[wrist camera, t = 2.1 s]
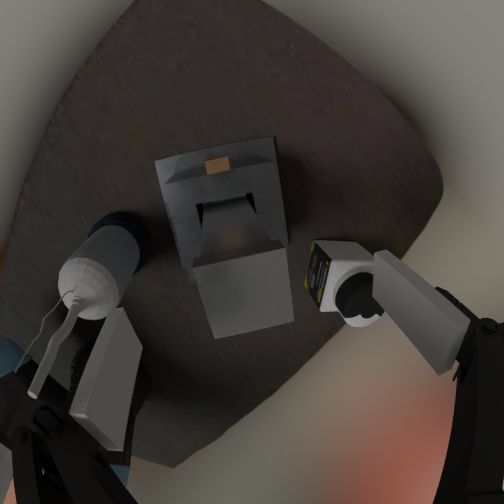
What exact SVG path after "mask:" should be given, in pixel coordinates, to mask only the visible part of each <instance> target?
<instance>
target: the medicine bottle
mask: <svg viewBox="0 0 504 504" xmlns="http://www.w3.org/2000/svg"><path fill="white" fill-rule="evenodd" d="M373 276H374V256H373V255H371V254H370V253H369V252H368V251H367V250H365V249H364V248H363V247H362V246H360V245H359V244H358V243H357V242H346V241H326V240H313V242H312V246H311V252H310V258H309V263H308V268H307V273H306V279H305V287H306V288H307V290H308V292H309V293H310V295H311V297H312V298H313V300H314V301H315V303H316V305H317V306H318V308H319V310H320V311H321V312H330V311H339V313H340V314H341V315H342V317H343V318H344V320H345V321H346V323H347V324H349V325H350V326H353V327H364V326H368V325H370V324H372V323H373V322H375V321H376V320H378V318H380V316H382V314H383V313H384V311H385V310H384V309H383V308H382V307H381V305H380V304H379V303H378V302H377V301H376V300H375V299H374V298H373V296H372V293H373Z"/></svg>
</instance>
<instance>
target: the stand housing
mask: <svg viewBox="0 0 504 504" xmlns="http://www.w3.org/2000/svg"><path fill="white" fill-rule="evenodd" d="M154 162H155V166H156V170H157V175H158V179H159V183H160V187H161V191H162V195H163V199H164V203H165V207H166V210H167V214H168V218H169V222H170V225H171V229H172V232H173V236H174V239H175V243H176V246H177V250H178V253H179V257H180V260H181V263H182V266H183V268H186V269H187V273H188V276H189V279H190V282H191V283H194V282H196V279H195V276H194V272H193V269H192V266H193V258H195V257H200V256H201V239H202V223H203V209H204V208H203V202H207V201H212V200H216V199H221V198H226V197H230V196H235V195H240V194H245V193H246V198H247V200H248V202H249V203H250V205H251V207H252V208H253V210H254V212H255V213H256V215H257V217H258V218H259V220H260V222H261V223H262V225H263V227H264V228H265V230H266V232H267V233H268V235H269V237H270V238H271V240H272V241H273V240H278V239H280V241H281V242H282V244H283V245H284V247H285V250H286V257H287V262H289V258H288V250H287V245H289V242H288V235H287V227H286V220H285V212H284V205H283V198H282V191H281V184H280V178H279V171H278V165H277V158H276V152H275V146H274V140H273V136H270V137H264V138H258V139H252V140H246V141H240V142H235V143H229V144H224V145H219V146H214V147H210V148H205V149H201V150H196V151H192V152H188V153H183V154H179V155H175V156H171V157H167V158H164V159H160V160H156V161H154Z"/></svg>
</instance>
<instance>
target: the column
mask: <svg viewBox="0 0 504 504" xmlns="http://www.w3.org/2000/svg"><path fill="white" fill-rule="evenodd" d="M203 208H204V209H203V223H202V239H201V256H200V257H195V258H193V266H192V269H193V272H194V276H195V279H196V282H197V286H198V289H199V292H200V295H201V299H202V302H203V305H204V308H205V311H206V314H207V317H208V320H209V323H210V326H211V329H212V332H213V335H214V338H215V339H217V338H222V337H227V336H232V335H237V334H241V333H246V332H250V331H255V330H259V329H264V328H268V327H272V326H276V325H280V324H284V323H288V322H292V321H294V316H293V307H292V298H291V290H290V281H289V273H288V265H287V257H286V250H285V247H284V245H283V244H282V242H281V241H280V239H278V240H273V241H272V240H271V238H270V237H269V235H268V233H267V232H266V230H265V228H264V227H263V225H262V223H261V222H260V220H259V218H258V217H257V215H256V213H255V212H254V210H253V208H252V207H251V205H250V203H249V202H248V200H247V198H246V193H245V194H240V195H235V196H230V197H226V198H221V199H216V200H212V201H207V202H203Z"/></svg>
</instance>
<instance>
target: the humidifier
mask: <svg viewBox="0 0 504 504" xmlns="http://www.w3.org/2000/svg"><path fill="white" fill-rule="evenodd" d="M149 250H150V238H149V234H148V231H147V229H146V228H145V226H144V225H143V223H142V222H141V221H140V220H139V219H137V218H136V217H135V216H133V215H131V214H128V213H126V212H114V213H111V214H107V215H106V216H105V217H103V218H102V219H101V220H100V221H98V222H97V223H96V224H95V225H94V227H93V228H92V230H91V231H90V233H89V235H88V239H87V240H86V241H85V242H84V243H83V244H82V245H81V246H80V247H79V248H78V249H77V250H76V251H75V252H74V253H73V254H72V255H71V256H70V257H69V258H68V259H67V260H66V262H65V264H64V265H63V267H62V269H61V271H60V273H59V281H58V287H59V292H60V295H61V299H60V300H59V302H58V303H57V304H56V306H55V307H54V308H53V309H52V311H50V312H49V313H48V314H47V315H46V316H45V317H44V319H43V323H42V327H41V331H40V333H39V334H38V336H37V337H36V338H35V339H34V340H33V341H32V343H31V344H30V346H29V348H28V349H27V351H26V353H25V354H24V356H23V358H22V359H21V361H20V363H19V364H18V366H17V368H16V369H15V372H16V371H17V369H18V367H19V366H20V364H21V362H22V360H23V359H24V357H25V355H26V354H27V352H28V350H29V349H30V347H31V346H32V344H33V342H34V341H35V340H36V339H37V338H38V337H39V335H40V334H41V332H42V328H43V324H44V320H45V318H46V317H47V316H48V315H49V314H50V313H52V312H53V310H54V309H55V308H56V307H57V305H58V304H59V303H60V301H61V300H63V302H64V304H65V305H66V306H67V308H68V309H69V312H68V315H67V317H66V319H65V321H64V323H63V324H62V326H61V327H60V328H59V330H58V331H56V332H55V333H54V334H53V335H52V337H51V339H50V341H49V344H48V348H47V351H46V353H45V355H44V358H43V360H42V362H41V364H40V366H39V368H38V370H37V372H36V375H35V377H34V379H33V381H32V383H31V386H30V388H29V390H28V394H29V395H30V396H31V397H32V398H34V399H36V398H37V397H38V394H39V392H40V390H41V388H42V386H43V383H44V381H45V379H46V377H47V374H48V372H49V370H50V369H51V367H52V364H53V362H54V360H55V357H56V355H57V352H58V348H59V346H60V344H61V343H62V341H63V340H65V339H66V337H67V336H68V335H69V334H70V332H71V330H72V329H73V327H74V324H75V322H76V320H77V317H78V316H79V317H81V318H83V319H90V320H97V319H102V318H104V317H106V316H108V314H109V312H110V309H116V307H117V306H118V304H119V303H120V301H121V299H122V296H123V294H124V292H125V290H126V288H127V286H128V283H129V281H130V279H131V277H132V276H133V275H134V274H136V273H137V272H138V271H139V270H140V268H141V267H142V266H143V265H144V263H145V261H146V259H147V256H148V253H149Z"/></svg>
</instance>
